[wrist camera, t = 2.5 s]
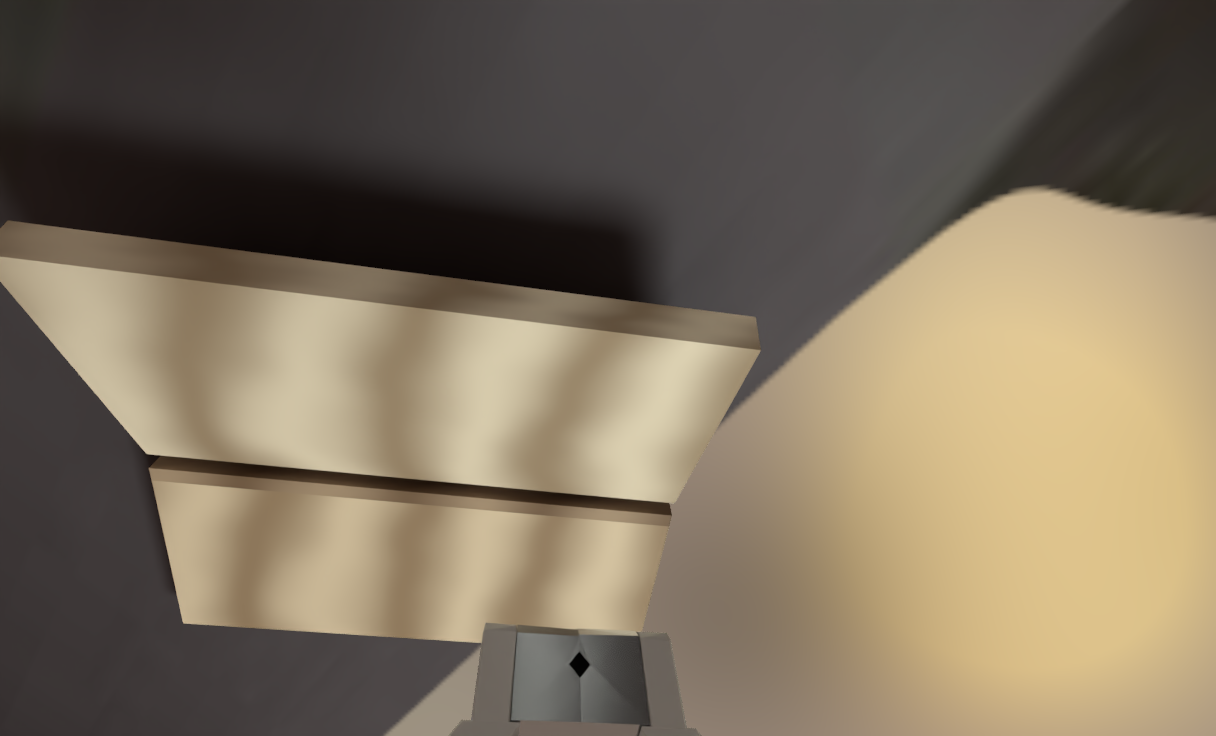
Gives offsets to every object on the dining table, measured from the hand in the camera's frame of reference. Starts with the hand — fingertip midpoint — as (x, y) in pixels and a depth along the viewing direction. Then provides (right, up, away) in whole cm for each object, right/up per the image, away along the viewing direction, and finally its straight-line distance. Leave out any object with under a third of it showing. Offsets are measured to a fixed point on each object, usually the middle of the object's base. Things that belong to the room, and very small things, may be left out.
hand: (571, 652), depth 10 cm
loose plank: (-7, +4, +15) cm, 17 cm away
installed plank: (-9, -5, +23) cm, 25 cm away
